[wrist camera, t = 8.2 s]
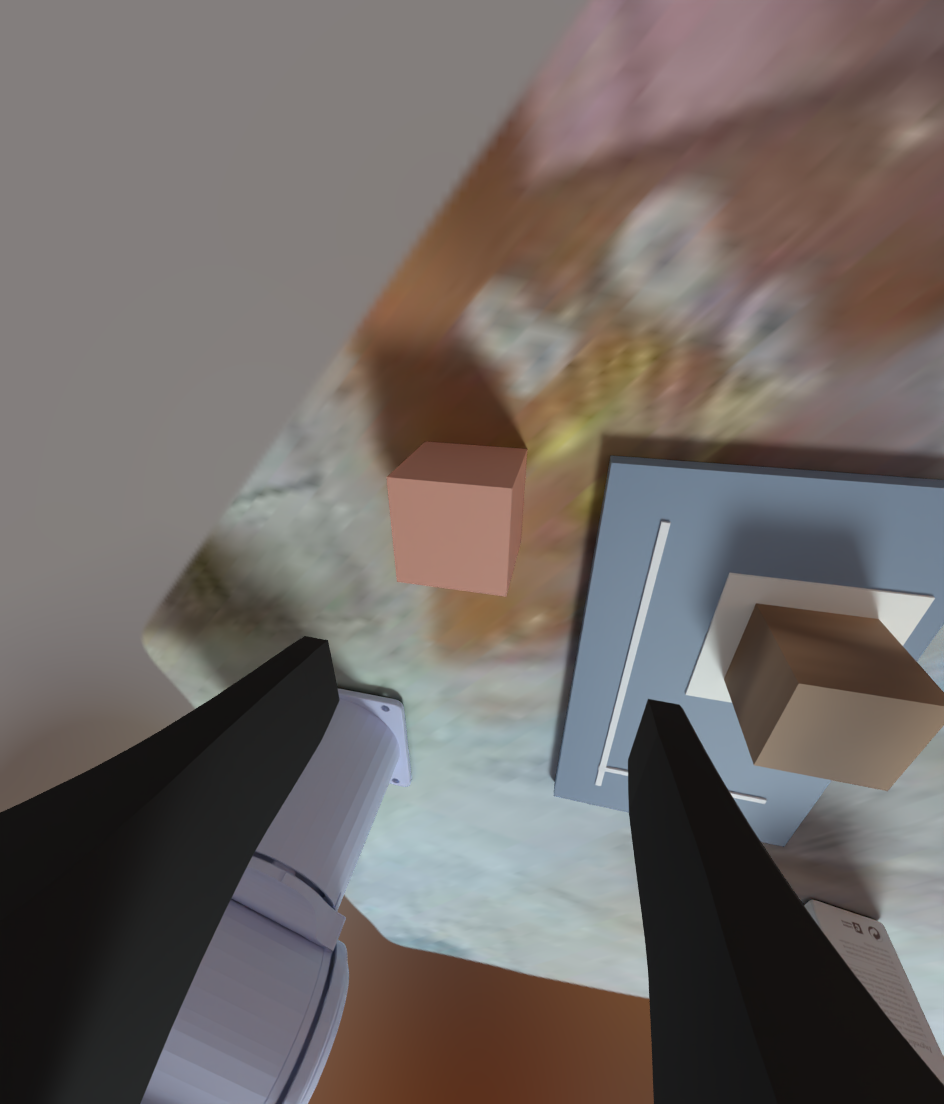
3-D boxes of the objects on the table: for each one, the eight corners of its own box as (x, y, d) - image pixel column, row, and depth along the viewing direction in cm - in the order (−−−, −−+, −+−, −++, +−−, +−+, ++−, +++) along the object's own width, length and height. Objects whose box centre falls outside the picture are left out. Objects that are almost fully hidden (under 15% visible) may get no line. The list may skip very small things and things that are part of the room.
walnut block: (723, 679, 18) (754, 765, 15) (756, 603, 16) (798, 683, 13) (831, 696, 18) (887, 790, 14) (878, 619, 16) (958, 708, 12)
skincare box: (807, 894, 26) (945, 1273, 16) (883, 919, 26) (1073, 1324, 16) (754, 931, 29) (841, 1265, 19) (820, 954, 29) (944, 1307, 19)
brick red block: (430, 531, 19) (396, 581, 16) (425, 440, 17) (386, 477, 14) (521, 541, 19) (506, 596, 15) (527, 448, 16) (512, 488, 13)
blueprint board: (554, 782, 26) (553, 797, 25) (610, 455, 16) (611, 463, 15) (778, 831, 24) (784, 848, 23) (1013, 485, 14) (1038, 496, 13)
